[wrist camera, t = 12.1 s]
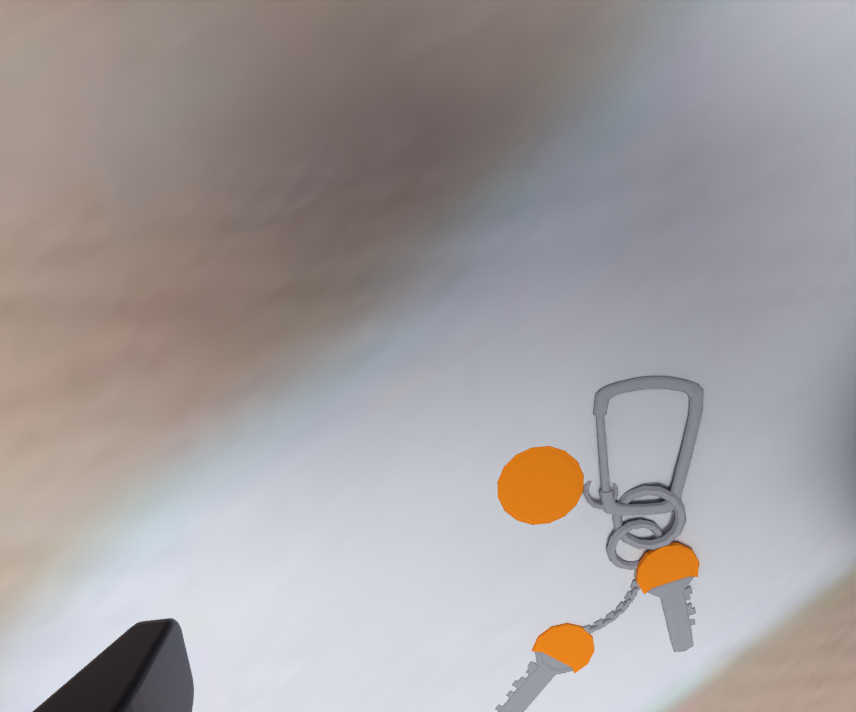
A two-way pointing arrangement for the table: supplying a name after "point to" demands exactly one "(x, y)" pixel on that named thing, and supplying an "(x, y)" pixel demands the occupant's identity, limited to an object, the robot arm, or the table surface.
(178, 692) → the robot arm
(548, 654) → the key chain
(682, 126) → the table surface
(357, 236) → the table surface
